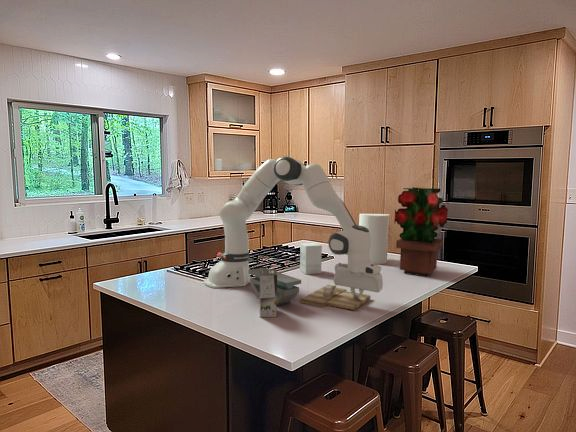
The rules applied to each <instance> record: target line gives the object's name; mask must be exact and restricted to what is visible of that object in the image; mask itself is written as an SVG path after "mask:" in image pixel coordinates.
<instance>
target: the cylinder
mask: <svg viewBox="0 0 576 432" xmlns="http://www.w3.org/2000/svg"><path fill="white" fill-rule="evenodd" d="M358 218H359V220H358V222H359V223H358V225H359V226H364V227H366V228H367V229H369V231H370V237H371V247H370V252H369V257H370V262H372V263H374V264H376V265H382V264H383V265H384V264H386V263H387V262H388V253H389V252H388V249H389V247H388V245H389V231H390V228H389V226H390V214H389V213H387V214H386V213H384V214H383V213H359V217H358Z"/></svg>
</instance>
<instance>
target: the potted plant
mask: <svg viewBox="0 0 576 432" xmlns="http://www.w3.org/2000/svg"><path fill="white" fill-rule="evenodd" d="M402 189H403V191H402V192H401V194H399V195H398V197H397V201H398V203H399V204H400V205H401V208H398V209H397V210H396V209H394V220H393V221H394V225H395V224H396V223H397V224H398V225H399V226H400V228H401V229H402V232H400V234H399V235H398V236H399V239H397V240H396V244H395V248H396V249H400V255H399V256H400V257H399V260H400V261H399V270H402V271H404V272H403V273H404V274H407V273H410V274H409V275H414V274H418V275H417V276H421V275H425V276H424V277H427V275H428V274H429V275H431V273H433V272H434V271H435V270H436V269H437V261H438V250H440V249H441V248H442V247H443V243H444V242H443V240H444V239H441V238H437V237H438V233H437V232H436V231H437V230H438V229H439V227H440V228H443V227H445V225H446V224H447V223H448V213H449V211H448V210H449V209H448V208H447V206H446V205H445V204H442V203H443V202H444V199H443V197H439V196H437V194H438V193H440V192H441V188H425V187H424V188H422V187H413V186H412V188H411V187H409V188H408V187H407V188H406V187H403V188H402ZM440 205H441V206H440ZM402 207H403V208H402ZM429 275H428V276H429Z"/></svg>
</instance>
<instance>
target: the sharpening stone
mask: <svg viewBox="0 0 576 432" xmlns="http://www.w3.org/2000/svg"><path fill="white" fill-rule="evenodd" d="M261 269H264V270H265V269H267V268H266V267H258V268H253V269H249V274H250V276H251V275H252V276H254V277H251V278H250V283H249V284H250V286H251V288H252V290H253V292H254V294H255V296H256V298H257V299H258V300H260V270H261ZM301 284H302V279H300V278H296V277H294V276H290V275H287V274H284V273H281V272H277V306H279V305H282V304H288V303H291V301H292V300H293V299H294V298H295V297H297V296H298V294H299V293H300V287H299V286H298V285H301Z"/></svg>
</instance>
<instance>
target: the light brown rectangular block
mask: <svg viewBox="0 0 576 432" xmlns="http://www.w3.org/2000/svg"><path fill="white" fill-rule="evenodd" d="M344 291H347V289H346V288H341V287H337V285H335V283H329V284H326V285H324V286H322V287H321V288H319V289H317V290H315V291H313V292H310V293H309V294H307V295H305V296H304V297H301V298H300V299H299V300H300V301H299V302H300V303H301V304H305V305H310V306H314V307H315V306H316V307H320V308H323V307H324V306H327V305H326V302H327V301H329V300H330V299H332V298H334V297H335V296H337V295H339V294H341V293H342V292H344Z"/></svg>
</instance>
